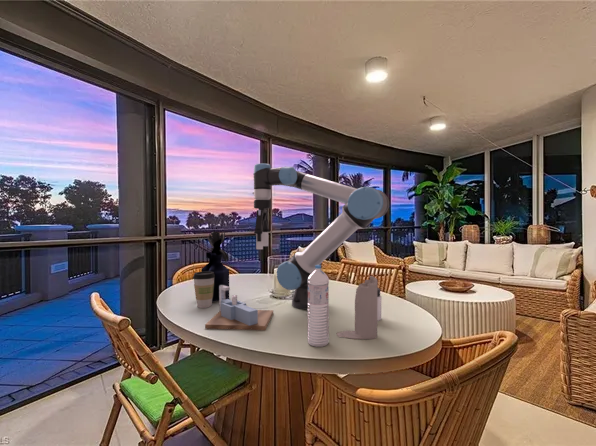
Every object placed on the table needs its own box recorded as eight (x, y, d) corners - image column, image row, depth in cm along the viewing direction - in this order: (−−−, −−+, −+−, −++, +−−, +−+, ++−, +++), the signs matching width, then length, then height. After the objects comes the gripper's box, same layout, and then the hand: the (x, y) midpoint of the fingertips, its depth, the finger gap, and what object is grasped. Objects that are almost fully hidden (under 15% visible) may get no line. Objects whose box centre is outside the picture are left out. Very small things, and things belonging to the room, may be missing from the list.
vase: (234, 300, 155) (233, 227, 155) (210, 303, 149) (210, 228, 148) (223, 294, 167) (222, 227, 166) (201, 297, 161) (200, 227, 160)
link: (216, 313, 129) (216, 301, 129) (231, 310, 134) (231, 298, 134) (245, 326, 114) (245, 312, 114) (261, 322, 118) (261, 308, 118)
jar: (356, 320, 125) (357, 290, 124) (359, 314, 132) (359, 285, 132) (380, 323, 122) (380, 291, 122) (381, 316, 130) (382, 287, 129)
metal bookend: (335, 331, 114) (335, 274, 113) (374, 331, 113) (375, 275, 113) (337, 339, 106) (337, 278, 106) (379, 339, 106) (379, 279, 105)
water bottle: (322, 349, 98) (322, 267, 97) (303, 344, 102) (303, 266, 101) (332, 341, 104) (332, 264, 103) (314, 337, 107) (314, 263, 107)
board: (273, 313, 134) (273, 310, 134) (265, 330, 115) (265, 325, 115) (221, 312, 135) (221, 309, 135) (205, 328, 116) (205, 324, 116)
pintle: (237, 318, 127) (237, 295, 127) (236, 320, 125) (236, 296, 125) (232, 318, 127) (232, 295, 127) (231, 320, 125) (231, 296, 125)
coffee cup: (209, 309, 140) (209, 275, 139) (188, 308, 142) (188, 274, 141) (219, 303, 149) (219, 271, 149) (199, 302, 151) (199, 270, 151)
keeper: (229, 315, 131) (229, 287, 131) (225, 316, 130) (225, 287, 129) (223, 312, 135) (223, 284, 135) (219, 313, 134) (219, 285, 134)
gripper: (259, 200, 154) (259, 245, 155) (247, 198, 129) (247, 250, 130) (275, 200, 154) (275, 245, 154) (265, 197, 129) (266, 250, 129)
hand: (262, 247), depth 142 cm, fingers open, 13 cm apart
